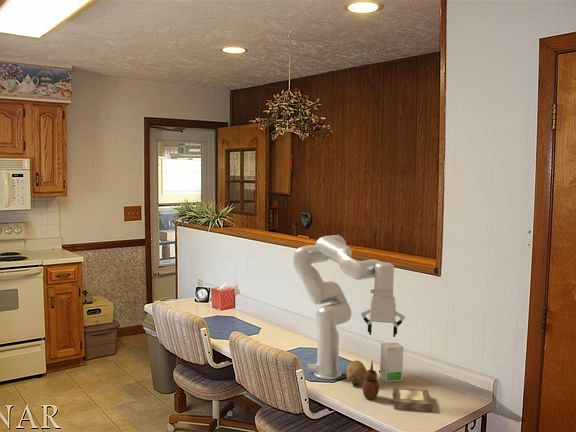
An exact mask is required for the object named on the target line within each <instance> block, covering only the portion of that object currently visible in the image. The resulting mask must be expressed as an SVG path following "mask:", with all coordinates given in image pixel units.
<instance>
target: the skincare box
mask: <svg viewBox="0 0 576 432" xmlns="http://www.w3.org/2000/svg"><path fill="white" fill-rule="evenodd" d="M380 346H381V347H380V362H379V363H380V366H379V378H380V379H381V380H382V381H384V382H385V383H395V382H402V381H403V367H404V365H403V363H404V345H401V344H400V343H399V342H385V343H383V342H382V343H380Z"/></svg>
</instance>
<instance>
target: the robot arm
mask: <svg viewBox="0 0 576 432" xmlns="http://www.w3.org/2000/svg"><path fill="white" fill-rule="evenodd" d="M352 253H353V251H352V248H351V247H350V246H348V245H347V243H346V240H345V239H344V238H343V236H341V235H339V234H337V235H335V234H333V235H324V236H321V237H319V238H318V240H316V242H315V244H310V245H304V246H301V247H297V249H296V250H295V251H294V254H293V257H292V259H293V260H292V261H293V265H294V268H295V271H296V272H297V275H299V277H300V279H301V281H302V283H303V285H304V288H305V289H306V292H307V294H308V297H309V298H310V301H311V302H312V303H313V304H314V305H323V306H321V307H319V308H318V309H317V311H316V313H315V319H316V320H315V321H316V328H317V350H316V351H317V353H316V354H317V355H316V357H317V358H316V363H314V364H313V363H307V366H306V369H309V370H310V371H313V376H314V377H316V378H318V379H321V380H336V379H339V378H341V377H342V373H343V372H342V371H341V370H340V369H339V355H340V352H339V351H340V336H339V331H338V330H337V326H339V325H342V324H345V323H348V322H350V320H351V318H352V308H351V306H350V303H349V301H348V300H347V298H346V296H345V294H344V292H343V290H342V288H341V286H340V285H339V284H338V283H337V282H336V281H329V280H328V281H324V280H323V278H322V277H321V274H320V272H319V271H318V270H317V269H316V268H315V267H314V266H312V265H313V264H318V263H320V264H321V263H325V262H327V261H330V260H332V262H335V263H337V264H338V266H339V268H340V270H341V271H342V272H343V273H344V274H345V275H347V276H349V277H350V278H352V279H355V280H358V281H361V280H362V281H363V280H366V279H367V280H368V279H374V284H373V285H374V287H373V289H370V293H371V294H373V295H372V296H371V300H370V308H369V309H367V310H365V311H363V312H361V313H360V315H361V317H362V319H363V322H365V324H366V325H367V333H368V335H369V336H371V335H372V327H373V325H372V323H373V322H374V323H375V322H376V323H387V324H392V325H393V331H392V332H393V333H392V334H393V335H392V337H393V338H396V335H398V327H399V326H400V325H401V324H402V323H403V322H404V320H405V317H406V316H405V315H404V314H402V313H400V312H399V311H397V307H396V306H397V305H396V298H395V296H394V284H395V283H394V279H395V278H394V277H395V266H394V263H391V262H385V261H384V262H383V261H381V260H379V259H373V258H372V259H366V260H365V259H364V260H357V259H355V258H353V257H352V255H353V254H352ZM328 303H329V304H328ZM324 304H325V305H324ZM367 315H369V318H368V317H367ZM396 317H398V318H399V320H396Z"/></svg>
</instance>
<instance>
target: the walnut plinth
mask: <svg viewBox="0 0 576 432" xmlns="http://www.w3.org/2000/svg"><path fill="white" fill-rule="evenodd" d="M392 401H393V403H392V404H393V409H394V410H402V411H403V410H404V411H417V412H429V413H432V408H433V404H432V400H431V397H430V393H429V389H420V388H419V389H418V388H406V387H392Z"/></svg>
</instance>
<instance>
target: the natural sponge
mask: <svg viewBox="0 0 576 432" xmlns="http://www.w3.org/2000/svg"><path fill="white" fill-rule="evenodd" d="M345 369H346V370H345V371H346V379H347V381H348V382H350V383H352V384H354V385H357V384H359V383H360V382H362V381H365V380H366V378H365V374H366V371H367V370H368V369H366V367H365V365H364V364H363V362H362V361H359V360H352V361H350V362H348V363H347V364H346V368H345Z"/></svg>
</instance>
